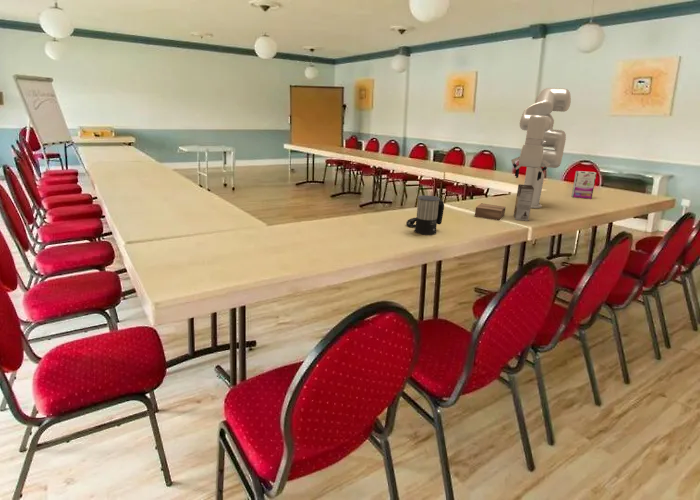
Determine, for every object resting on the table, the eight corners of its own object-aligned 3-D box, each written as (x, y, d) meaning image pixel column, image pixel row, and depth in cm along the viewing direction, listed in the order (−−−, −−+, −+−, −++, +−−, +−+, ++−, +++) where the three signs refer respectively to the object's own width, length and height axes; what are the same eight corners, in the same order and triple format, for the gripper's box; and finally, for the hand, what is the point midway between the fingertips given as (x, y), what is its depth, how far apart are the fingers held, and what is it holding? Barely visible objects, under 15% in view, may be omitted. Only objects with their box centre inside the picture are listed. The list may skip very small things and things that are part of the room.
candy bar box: (589, 197, 300) (594, 171, 295) (591, 199, 295) (597, 173, 290) (570, 196, 302) (575, 170, 297) (572, 197, 297) (578, 171, 292)
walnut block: (480, 212, 241) (481, 203, 239) (504, 216, 236) (505, 206, 234) (474, 217, 231) (475, 207, 229) (499, 221, 226) (501, 211, 224)
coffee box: (512, 215, 237) (518, 183, 232) (526, 216, 236) (531, 185, 231) (515, 219, 229) (520, 187, 224) (528, 221, 228) (534, 188, 223)
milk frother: (430, 236, 191) (435, 200, 187) (396, 229, 199) (399, 194, 195) (443, 229, 203) (448, 195, 198) (410, 223, 211) (413, 190, 206)
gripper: (553, 144, 221) (547, 180, 226) (515, 140, 228) (509, 176, 233) (552, 144, 214) (545, 182, 219) (513, 141, 222) (507, 177, 226)
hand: (527, 179), depth 226 cm, fingers open, 9 cm apart
